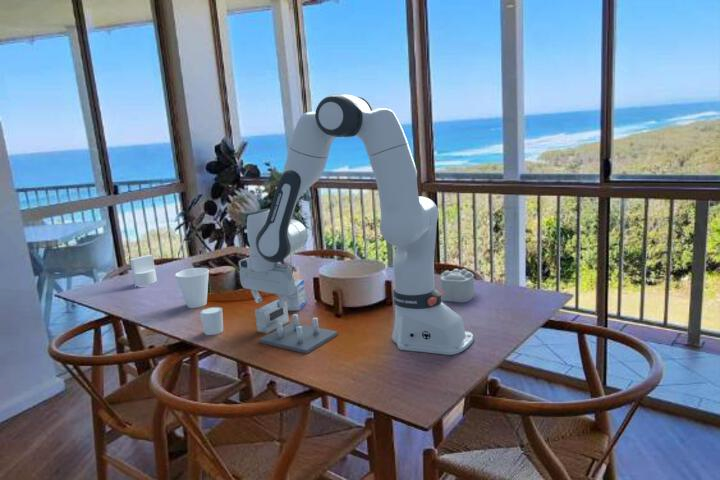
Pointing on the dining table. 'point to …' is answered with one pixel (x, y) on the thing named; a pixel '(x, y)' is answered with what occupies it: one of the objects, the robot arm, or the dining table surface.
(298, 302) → the medicine box
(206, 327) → the white short cylinder
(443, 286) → the bowl of white balls
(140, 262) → the base with upright slab
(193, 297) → the cup
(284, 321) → the drive
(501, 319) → the dining table surface
